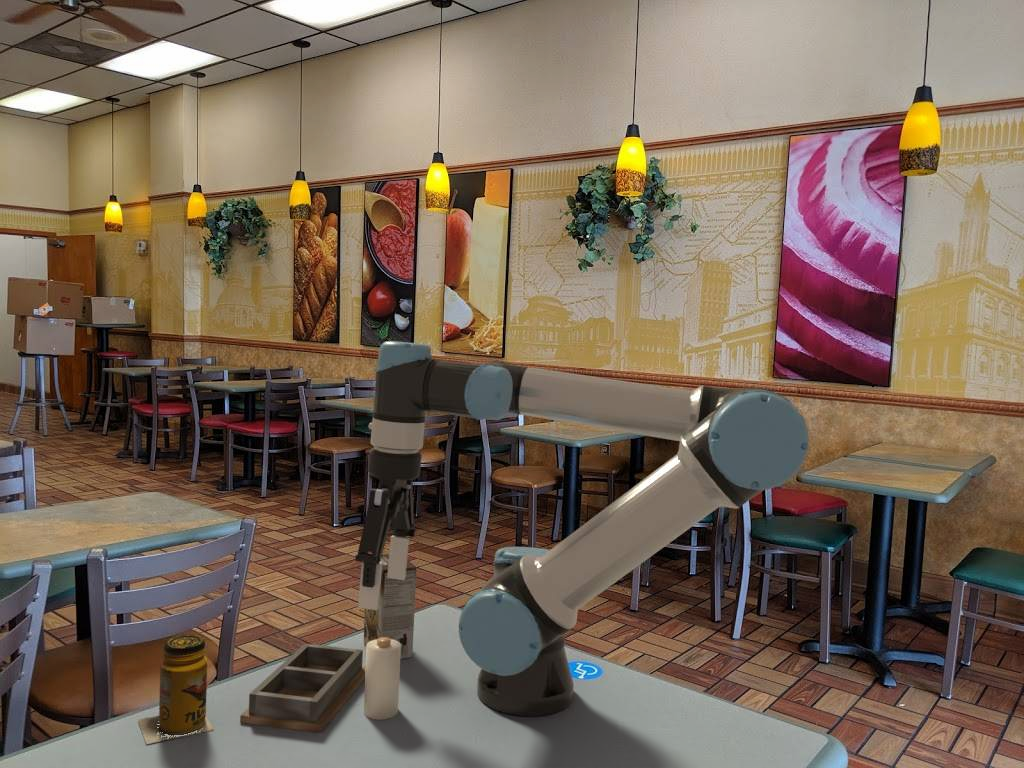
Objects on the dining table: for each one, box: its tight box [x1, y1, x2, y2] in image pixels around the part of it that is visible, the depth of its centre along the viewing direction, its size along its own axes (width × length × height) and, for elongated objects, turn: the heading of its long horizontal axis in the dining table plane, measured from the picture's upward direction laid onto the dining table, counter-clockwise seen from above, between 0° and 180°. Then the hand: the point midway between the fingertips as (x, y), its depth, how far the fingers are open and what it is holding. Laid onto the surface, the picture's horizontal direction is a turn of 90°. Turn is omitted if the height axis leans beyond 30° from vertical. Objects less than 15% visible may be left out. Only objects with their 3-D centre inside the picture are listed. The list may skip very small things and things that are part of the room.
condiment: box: [137, 634, 214, 745], centre depth 108 cm, size 7×8×12 cm
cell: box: [363, 637, 401, 721], centre depth 116 cm, size 5×5×11 cm
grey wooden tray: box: [239, 643, 366, 734], centre depth 119 cm, size 12×20×4 cm, turn 171°
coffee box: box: [363, 553, 418, 660], centre depth 138 cm, size 9×6×16 cm
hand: (383, 592), depth 115 cm, fingers open, 13 cm apart
